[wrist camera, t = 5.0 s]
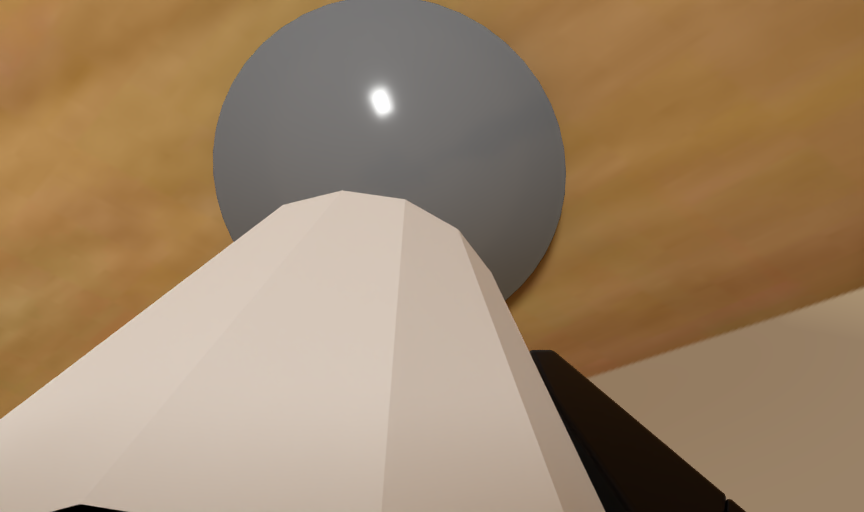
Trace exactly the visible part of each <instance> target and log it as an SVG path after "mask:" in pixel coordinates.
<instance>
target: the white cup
mask: <svg viewBox="0 0 864 512" xmlns="http://www.w3.org/2000/svg"><path fill="white" fill-rule="evenodd" d="M0 512H605V510H604V508H603V506H602V504H601V501H600V499H599V497H598V495H597V493H596V491H595V489H594V487H593V485H592V483H591V480H590V478H589V476H588V474H587V472H586V470H585V468H584V466H583V464H582V462H581V460H580V457H579V455H578V453H577V451H576V449H575V447H574V445H573V443H572V441H571V439H570V436H569V434H568V432H567V430H566V428H565V426H564V424H563V422H562V420H561V418H560V416H559V413H558V411H557V409H556V407H555V405H554V403H553V401H552V399H551V397H550V395H549V392H548V390H547V388H546V386H545V384H544V382H543V380H542V378H541V376H540V374H539V371H538V369H537V367H536V365H535V363H534V361H533V359H532V357H531V355H530V353H529V351H528V348H527V346H526V344H525V342H524V340H523V338H522V336H521V334H520V332H519V330H518V327H517V325H516V323H515V321H514V319H513V317H512V315H511V313H510V311H509V309H508V306H507V304H506V302H505V300H504V298H503V296H502V294H501V292H500V290H499V288H498V286H497V283H496V281H495V279H494V277H493V275H492V273H491V271H490V270H489V269H488V268H487V266H486V265H485V264H484V262H483V261H482V260H481V258H480V257H479V256H478V255H477V253H476V252H475V251H474V249H473V248H472V247H471V245H470V244H469V243H468V242H467V240H466V239H465V238H464V236H463V235H462V234H461V232H460V231H459V230H458V229H457V228H455V227H453V226H451V225H450V224H448V223H446V222H444V221H443V220H441V219H439V218H437V217H435V216H434V215H432V214H430V213H428V212H427V211H425V210H423V209H421V208H420V207H418V206H416V205H414V204H412V203H411V202H409V201H407V200H405V199H399V198H392V197H385V196H378V195H371V194H364V193H357V192H350V191H343V190H342V191H338V192H334V193H330V194H326V195H321V196H317V197H313V198H309V199H305V200H301V201H297V202H293V203H289V204H285V205H282V206H281V207H280V208H278V209H277V210H276V211H274V212H273V213H272V214H270V215H269V216H268V217H266V218H265V219H264V220H262V221H261V222H260V223H258V224H257V225H256V226H254V227H253V228H252V229H251V230H249V231H248V232H247V233H245V234H244V235H243V236H241V237H240V238H239V239H237V240H236V241H235V242H233V243H232V244H231V245H229V246H228V247H227V248H225V249H224V250H223V251H222V252H220V253H219V254H218V255H216V256H215V257H214V258H212V259H211V260H210V261H208V262H207V263H206V264H204V265H203V266H202V267H200V268H199V269H198V270H197V271H195V272H194V273H193V274H191V275H190V276H189V277H187V278H186V279H185V280H183V281H182V282H181V283H179V284H178V285H177V286H175V287H174V288H173V289H171V290H170V291H169V292H168V293H166V294H165V295H164V296H162V297H161V298H160V299H158V300H157V301H156V302H154V303H153V304H152V305H150V306H149V307H148V308H146V309H145V310H144V311H142V312H141V313H140V314H139V315H137V316H136V317H135V318H133V319H132V320H131V321H129V322H128V323H127V324H125V325H124V326H123V327H121V328H120V329H119V330H117V331H116V332H115V333H114V334H112V335H111V336H110V337H108V338H107V339H106V340H104V341H103V342H102V343H100V344H99V345H98V346H96V347H95V348H94V349H92V350H91V351H90V352H88V353H87V354H86V355H85V356H83V357H82V358H81V359H79V360H78V361H77V362H75V363H74V364H73V365H71V366H70V367H69V368H67V369H66V370H65V371H63V372H62V373H61V374H60V375H58V376H57V377H56V378H54V379H53V380H52V381H50V382H49V383H48V384H46V385H45V386H44V387H42V388H41V389H40V390H38V391H37V392H36V393H34V394H33V395H32V396H31V397H29V398H28V399H27V400H25V401H24V402H23V403H21V404H20V405H19V406H17V407H16V408H15V409H13V410H12V411H11V412H9V413H8V414H7V415H5V416H4V417H3V418H2V419H0Z"/></svg>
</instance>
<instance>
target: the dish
mask: <svg viewBox="0 0 864 512" xmlns="http://www.w3.org/2000/svg"><path fill="white" fill-rule="evenodd" d="M213 175H214V181H215V188H216V195H217V199H218V203H219V206H220V210H221V213H222V216H223V219H224V222H225V224H226V226H227V229H228V231H229V233H230V236H231V238H232V240H233V241H234V242H235V241H236V240H237V239H239V238H240V237H241V236H243V235H244V234H245V233H247V232H248V231H249V230H251V229H252V228H253V227H254V226H256V225H257V224H258V223H260V222H261V221H262V220H264V219H265V218H266V217H268V216H269V215H270V214H272V213H273V212H274V211H276V210H277V209H278V208H280V207H281V206H282V205H285V204H289V203H293V202H297V201H301V200H305V199H309V198H313V197H317V196H321V195H326V194H330V193H334V192H338V191H342V190H343V191H350V192H357V193H364V194H371V195H378V196H385V197H392V198H399V199H405V200H407V201H409V202H411V203H412V204H414V205H416V206H418V207H420V208H421V209H423V210H425V211H427V212H428V213H430V214H432V215H434V216H435V217H437V218H439V219H441V220H443V221H444V222H446V223H448V224H450V225H451V226H453V227H455V228H457V229H458V230H459V231H460V232H461V234H462V235H463V236H464V238H465V239H466V240H467V242H468V243H469V244H470V245H471V247H472V248H473V249H474V251H475V252H476V253H477V255H478V256H479V257H480V258H481V260H482V261H483V262H484V264H485V265H486V266H487V268H488V269H489V270H490V271H491V273H492V275H493V277H494V279H495V281H496V283H497V286H498V288H499V290H500V292H501V294H502V296H503V298H504V300H506V299H508V298H509V297H510V296H511V295H512V294H513V293H514V292H515V291H516V290H517V289H518V288H519V287H521V285H522V284H523V283H524V282H525V281H526V279H527V278H528V277H529V276H530V275H531V274H532V272H533V271H534V270H535V268H536V267H537V265H538V264H539V262H540V261H541V259H542V258H543V256H544V254H545V252H546V250H547V248H548V246H549V244H550V242H551V240H552V238H553V236H554V233H555V230H556V227H557V224H558V221H559V218H560V215H561V210H562V205H563V200H564V195H565V178H566V168H565V155H564V147H563V142H562V138H561V133H560V128H559V125H558V122H557V119H556V117H555V114H554V111H553V109H552V106H551V103H550V101H549V100H548V98H547V96H546V94H545V92H544V90H543V88H542V87H541V85H540V83H539V81H538V80H537V78H536V77H535V76H534V74H533V73H532V72H531V70H530V69H529V68H528V66H527V65H526V64H525V62H524V61H523V60H522V59H521V58H520V57H519V56H518V55H517V54H516V53H515V52H514V51H513V50H512V49H511V48H510V47H509V46H508V45H507V44H506V43H505V42H504V41H503V40H501V39H500V38H499V37H498V36H496V35H495V34H494V33H492V32H491V31H490V30H488V29H487V28H486V27H484V26H483V25H481V24H479V23H477V22H476V21H474V20H472V19H470V18H468V17H467V16H465V15H463V14H461V13H459V12H456V11H453V10H451V9H448V8H446V7H443V6H440V5H438V4H435V3H430V2H426V1H421V0H345V1H340V2H336V3H332V4H328V5H326V6H323V7H321V8H318V9H316V10H313V11H311V12H308V13H306V14H304V15H302V16H300V17H299V18H297V19H295V20H294V21H292V22H290V23H289V24H287V25H285V26H284V27H282V28H281V29H279V30H278V31H277V32H276V33H275V34H273V35H272V36H271V37H270V38H269V39H267V40H266V41H265V42H264V43H263V44H262V45H261V46H260V47H259V48H258V49H257V50H256V51H255V53H254V54H253V55H252V56H251V57H250V58H249V59H248V61H247V62H246V63H245V64H244V66H243V67H242V69H241V71H240V72H239V74H238V75H237V77H236V78H235V80H234V82H233V83H232V85H231V87H230V90H229V92H228V94H227V96H226V99H225V101H224V103H223V105H222V109H221V112H220V116H219V120H218V123H217V127H216V133H215V141H214V149H213Z"/></svg>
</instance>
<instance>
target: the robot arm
mask: <svg viewBox="0 0 864 512" xmlns="http://www.w3.org/2000/svg"><path fill="white" fill-rule="evenodd" d="M529 353H530V355H531V357H532V359H533V361H534V363H535V365H536V367H537V369H538V371H539V374H540V376H541V378H542V380H543V382H544V384H545V386H546V388H547V390H548V392H549V395H550V397H551V399H552V401H553V403H554V405H555V407H556V409H557V411H558V413H559V416H560V418H561V420H562V422H563V424H564V426H565V428H566V430H567V432H568V434H569V436H570V439H571V441H572V443H573V445H574V447H575V449H576V451H577V453H578V455H579V457H580V460H581V462H582V464H583V466H584V468H585V470H586V472H587V474H588V476H589V478H590V480H591V483H592V485H593V487H594V489H595V491H596V493H597V495H598V497H599V499H600V501H601V504H602V506H603V508H604V510H605V512H745V511H744V510H743V509H742V508H741V507H740V506H738V505H737V504H736V503H735V502H734V501H732V500H731V499H727V500H726V496H725V494H724V493H723V492H721V491H720V490H719V489H718V488H717V487H715V486H714V485H713V484H712V483H711V482H709V481H708V480H707V479H706V478H705V477H703V476H702V475H701V474H700V473H699V472H698V471H696V470H695V469H694V468H693V467H691V466H690V465H689V464H688V463H687V462H686V461H684V460H683V459H682V458H681V457H680V456H678V455H677V454H676V453H675V452H674V451H673V450H671V449H670V448H669V447H668V446H667V445H665V444H664V443H663V442H662V441H661V440H659V439H658V438H657V437H656V436H655V435H653V434H652V433H651V432H650V431H649V430H648V429H646V428H645V427H644V426H643V425H642V424H640V423H639V422H638V421H637V420H636V419H634V418H633V417H632V416H631V415H630V414H629V413H627V412H626V411H625V410H624V409H623V408H621V407H620V406H619V405H618V404H617V403H615V402H614V401H613V400H612V399H611V398H609V397H608V396H607V395H606V394H605V393H604V392H602V391H601V390H600V389H599V388H597V387H596V386H595V385H594V384H593V383H592V382H590V381H589V380H588V379H587V378H586V377H584V376H583V375H582V374H581V373H580V372H578V371H577V370H576V369H575V368H574V367H573V366H571V365H570V364H569V363H568V362H567V361H565V360H564V359H563V358H562V357H561V356H559V355H558V354H557V353H556V352H554V351H552V350H531V351H530V352H529Z"/></svg>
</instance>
